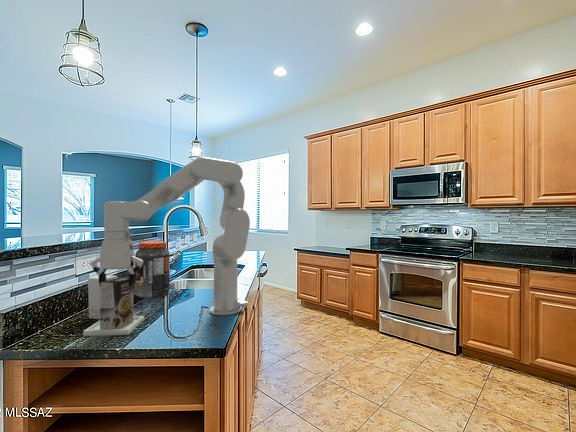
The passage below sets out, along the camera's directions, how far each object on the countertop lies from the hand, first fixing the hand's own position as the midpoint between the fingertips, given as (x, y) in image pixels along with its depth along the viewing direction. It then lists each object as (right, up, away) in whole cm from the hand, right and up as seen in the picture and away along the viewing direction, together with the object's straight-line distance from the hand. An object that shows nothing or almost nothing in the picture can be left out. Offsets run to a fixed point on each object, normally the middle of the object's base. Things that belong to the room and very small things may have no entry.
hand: (117, 285), depth 108 cm
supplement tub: (-7, -15, +44) cm, 47 cm away
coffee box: (0, -14, 0) cm, 14 cm away
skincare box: (-12, -15, +11) cm, 22 cm away
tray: (-1, -15, 0) cm, 15 cm away
